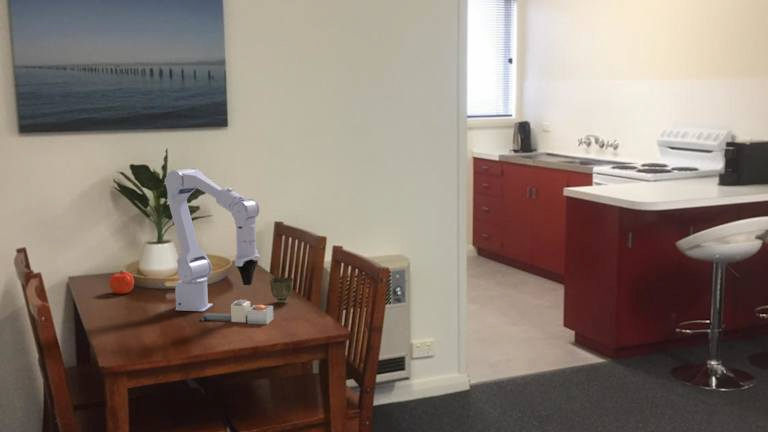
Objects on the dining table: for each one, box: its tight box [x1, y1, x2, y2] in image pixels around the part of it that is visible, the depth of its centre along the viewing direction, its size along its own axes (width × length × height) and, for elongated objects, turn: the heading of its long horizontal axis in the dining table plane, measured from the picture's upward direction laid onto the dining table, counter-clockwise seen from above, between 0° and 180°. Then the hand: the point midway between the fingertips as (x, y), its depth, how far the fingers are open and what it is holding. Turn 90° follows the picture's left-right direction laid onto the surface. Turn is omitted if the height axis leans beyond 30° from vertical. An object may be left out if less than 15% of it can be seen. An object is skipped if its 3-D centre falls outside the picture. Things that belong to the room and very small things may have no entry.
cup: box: [269, 276, 294, 305], centre depth 258 cm, size 8×7×8 cm
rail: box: [200, 312, 248, 323], centre depth 240 cm, size 14×4×2 cm, turn 80°
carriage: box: [230, 299, 251, 323], centre depth 239 cm, size 4×5×6 cm
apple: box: [108, 270, 135, 295], centre depth 273 cm, size 8×8×8 cm
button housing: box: [247, 304, 274, 325], centre depth 238 cm, size 6×6×4 cm
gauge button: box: [255, 304, 266, 310], centre depth 238 cm, size 3×3×2 cm
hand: (247, 284), depth 242 cm, fingers closed
